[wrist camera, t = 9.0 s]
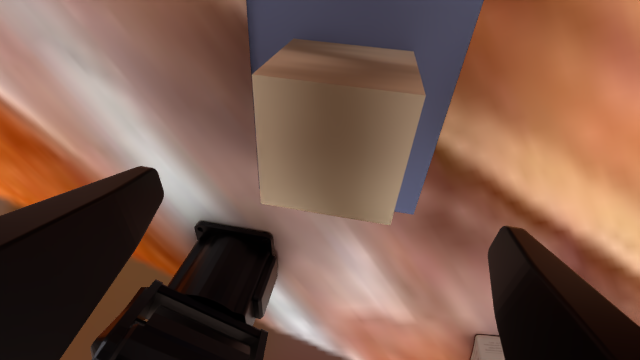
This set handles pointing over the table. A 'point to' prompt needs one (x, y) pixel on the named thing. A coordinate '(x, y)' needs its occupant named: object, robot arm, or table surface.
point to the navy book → (381, 32)
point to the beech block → (336, 127)
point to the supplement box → (487, 348)
